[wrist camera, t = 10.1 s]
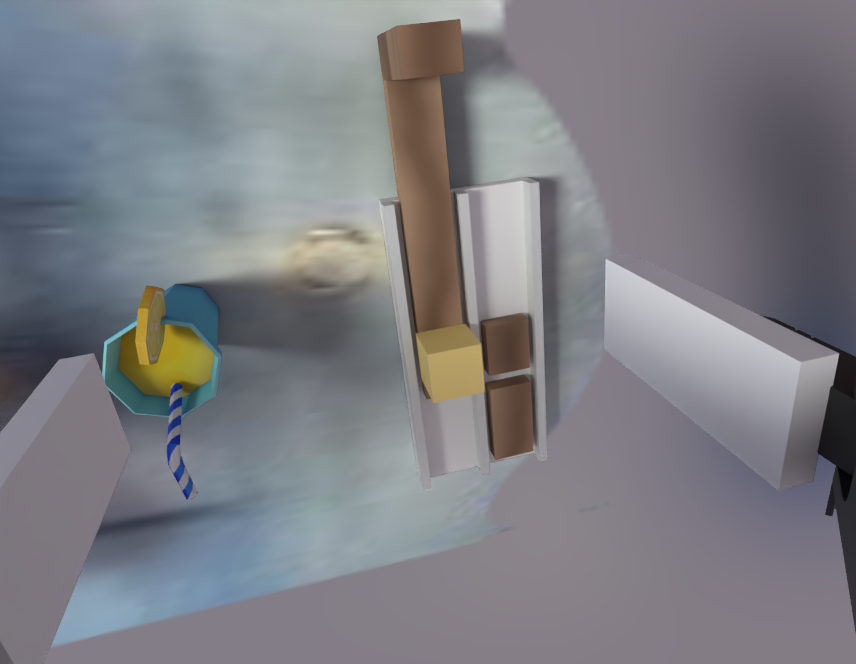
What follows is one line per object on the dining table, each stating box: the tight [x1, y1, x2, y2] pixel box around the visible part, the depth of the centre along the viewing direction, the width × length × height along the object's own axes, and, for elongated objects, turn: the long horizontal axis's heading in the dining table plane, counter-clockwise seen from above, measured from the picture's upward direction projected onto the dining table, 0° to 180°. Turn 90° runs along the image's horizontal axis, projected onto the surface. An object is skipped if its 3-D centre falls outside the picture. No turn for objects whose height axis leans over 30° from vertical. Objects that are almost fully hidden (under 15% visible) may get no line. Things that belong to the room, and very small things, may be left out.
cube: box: [416, 324, 485, 403], centre depth 50 cm, size 4×4×4 cm
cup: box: [102, 284, 222, 499], centre depth 42 cm, size 14×8×15 cm, turn 8°
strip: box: [377, 19, 464, 399], centre depth 45 cm, size 4×30×8 cm, turn 7°
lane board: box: [379, 177, 547, 490], centre depth 54 cm, size 13×28×3 cm, turn 6°
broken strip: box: [480, 313, 533, 460], centre depth 56 cm, size 4×14×2 cm, turn 7°
